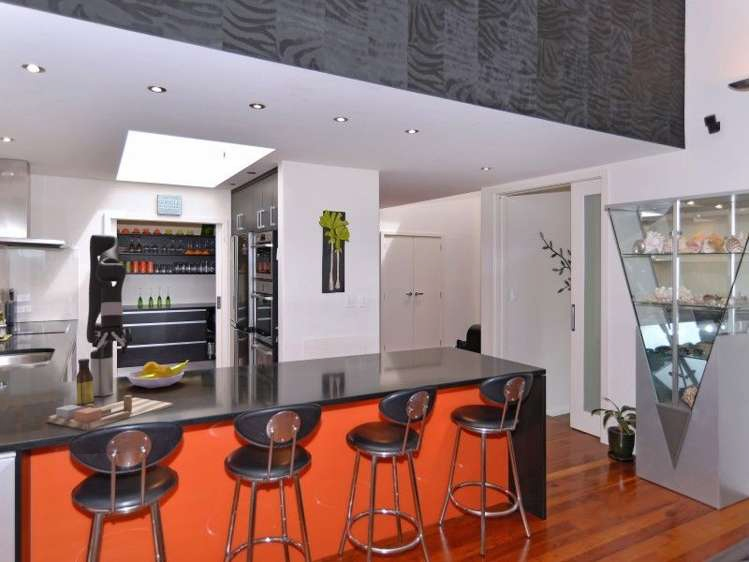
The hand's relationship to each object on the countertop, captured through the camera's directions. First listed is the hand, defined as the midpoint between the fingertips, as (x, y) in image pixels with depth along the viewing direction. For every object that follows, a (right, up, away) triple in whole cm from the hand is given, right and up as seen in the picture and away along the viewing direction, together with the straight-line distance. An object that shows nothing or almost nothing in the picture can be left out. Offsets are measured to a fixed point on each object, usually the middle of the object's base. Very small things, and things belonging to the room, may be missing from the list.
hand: (112, 357), depth 198 cm
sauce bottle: (-24, -24, +24) cm, 42 cm away
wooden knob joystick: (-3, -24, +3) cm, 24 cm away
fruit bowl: (-9, -23, +63) cm, 68 cm away
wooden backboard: (-5, -25, +11) cm, 28 cm away
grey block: (-15, -24, +3) cm, 28 cm away
